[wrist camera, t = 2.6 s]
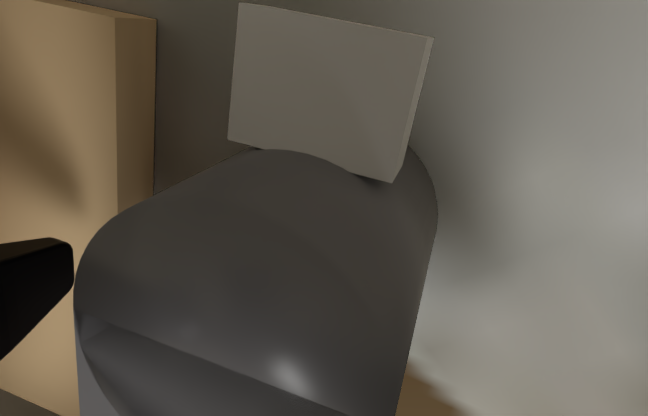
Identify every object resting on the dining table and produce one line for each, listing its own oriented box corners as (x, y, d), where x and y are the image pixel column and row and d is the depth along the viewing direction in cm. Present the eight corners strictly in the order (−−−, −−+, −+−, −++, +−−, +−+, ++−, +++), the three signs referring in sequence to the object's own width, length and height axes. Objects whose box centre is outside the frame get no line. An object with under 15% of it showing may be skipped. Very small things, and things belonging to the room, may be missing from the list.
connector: (232, 361, 12) (88, 554, 8) (274, 3, 9) (51, -27, 4) (380, 417, 11) (314, 671, 7) (492, 45, 8) (508, 64, 3)
